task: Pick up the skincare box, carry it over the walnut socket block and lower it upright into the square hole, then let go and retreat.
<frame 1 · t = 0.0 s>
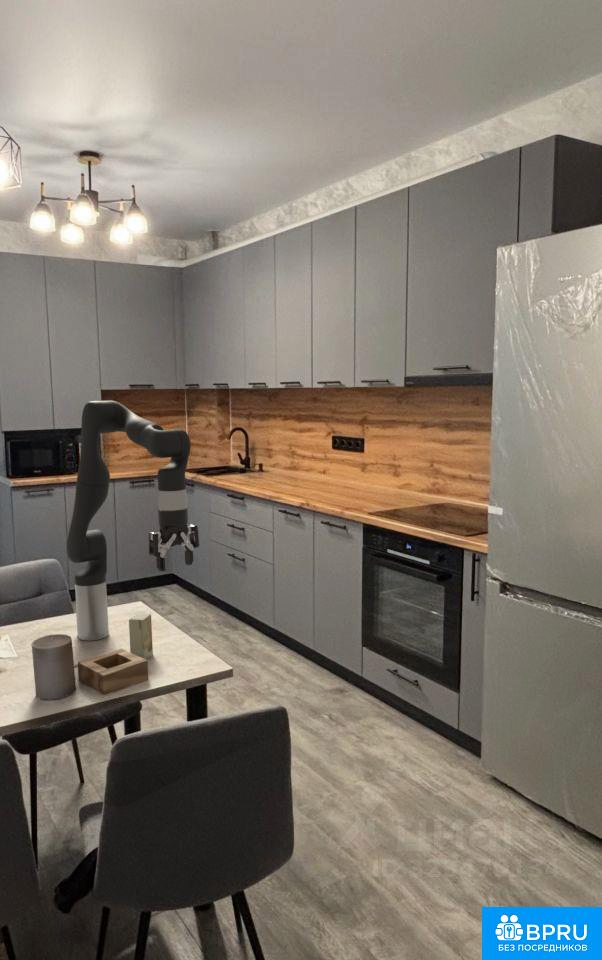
hand: (175, 567, 186), 29 cm above the table, tool pointing down, fingers open, 8 cm apart
pillar candle: (55, 693, 180), on the table
skincare box: (142, 658, 202), on the table
socket block: (113, 680, 187), on the table
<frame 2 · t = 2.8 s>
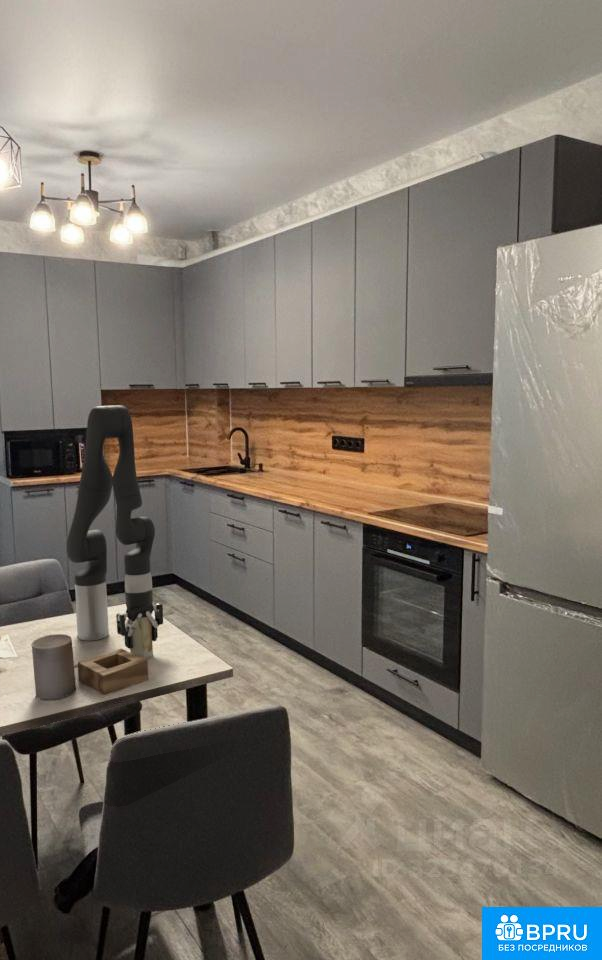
hand: (141, 644, 201), 4 cm above the table, tool pointing down, fingers closed on skincare box, 7 cm apart
skincare box: (142, 658, 202), on the table, touching gripper
everything else where it was.
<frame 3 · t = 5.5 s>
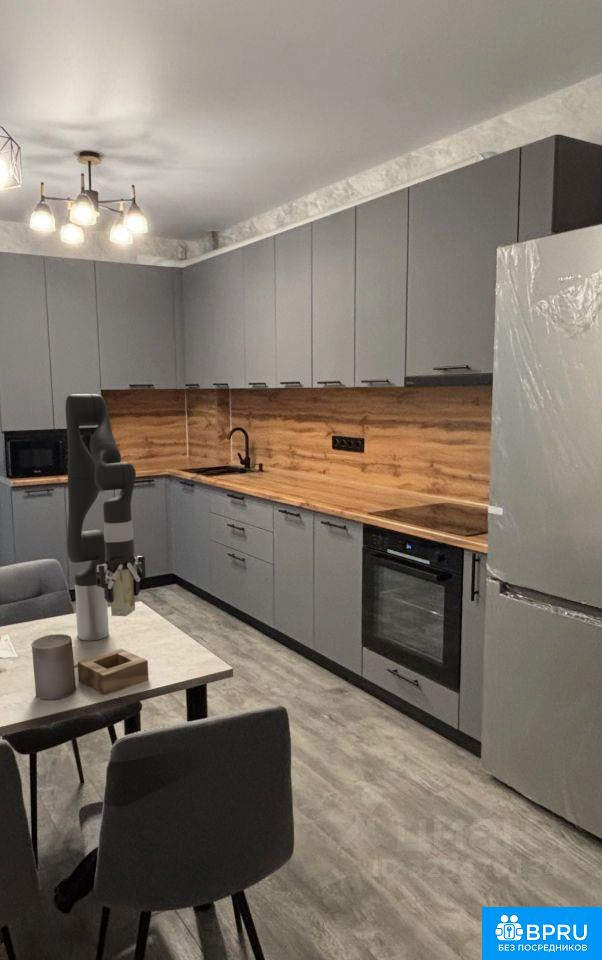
hand: (122, 598, 189), 21 cm above the table, tool pointing down, fingers closed on skincare box, 7 cm apart
skincare box: (123, 613, 190), point 16 cm above the table, touching gripper
everything else where it was.
when the fingers open (6 cm above the table, at t = 8.3 s): skincare box drops 2 cm, resting on socket block.
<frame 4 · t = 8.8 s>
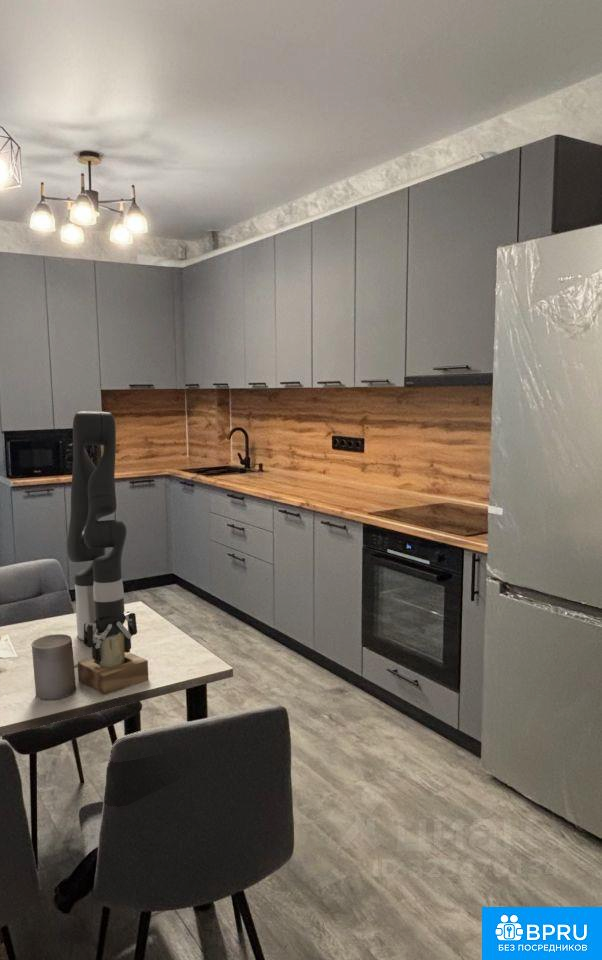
hand: (112, 656, 186), 7 cm above the table, tool pointing down, fingers open, 8 cm apart
skincare box: (113, 680, 187), resting on socket block
everything else where it was.
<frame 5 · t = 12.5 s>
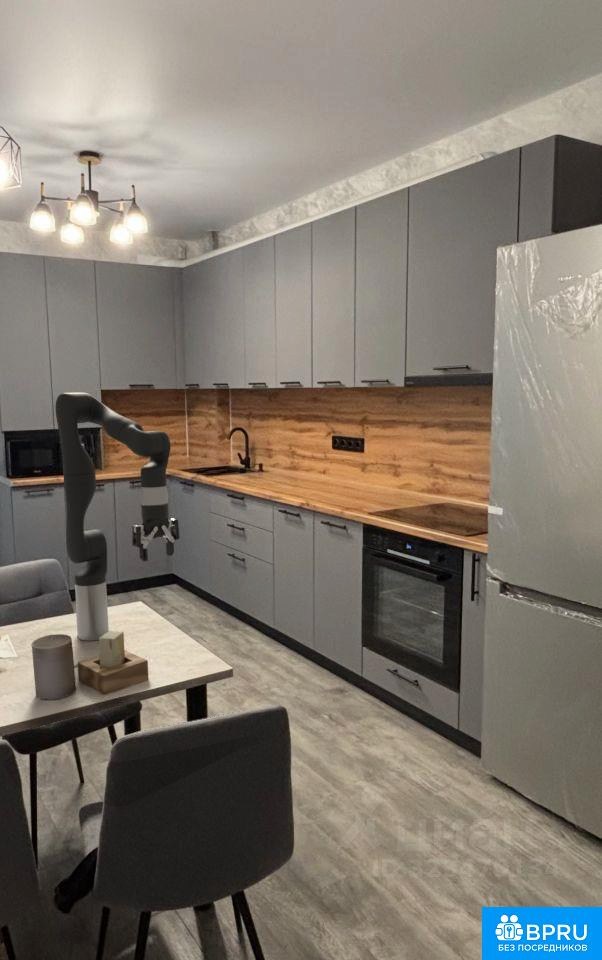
hand: (157, 558, 202), 28 cm above the table, tool pointing down, fingers open, 8 cm apart
nothing on the table moved.
at the end: skincare box 0.1 cm off-centre on the socket block, point 0.0 cm above the socket block's base; skincare box tilted 0°; the gripper is holding nothing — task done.
